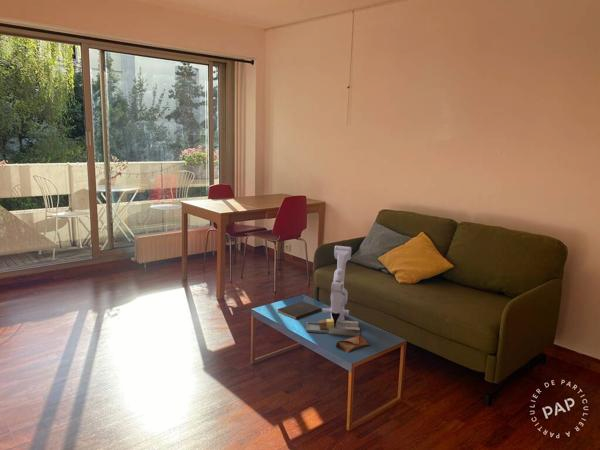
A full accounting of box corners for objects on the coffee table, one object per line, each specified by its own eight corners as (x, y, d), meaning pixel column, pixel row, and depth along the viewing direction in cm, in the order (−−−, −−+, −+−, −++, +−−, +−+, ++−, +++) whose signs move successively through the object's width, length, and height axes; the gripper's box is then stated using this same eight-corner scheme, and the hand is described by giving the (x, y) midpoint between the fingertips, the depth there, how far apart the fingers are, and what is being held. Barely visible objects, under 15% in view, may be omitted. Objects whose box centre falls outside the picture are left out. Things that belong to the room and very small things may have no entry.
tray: (306, 324, 271) (306, 321, 271) (327, 325, 271) (327, 323, 270) (306, 331, 260) (306, 329, 260) (327, 333, 260) (328, 331, 260)
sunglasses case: (347, 353, 237) (343, 340, 239) (338, 355, 242) (334, 342, 244) (371, 344, 249) (367, 332, 250) (362, 346, 254) (358, 334, 255)
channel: (328, 325, 271) (328, 319, 270) (357, 327, 271) (358, 321, 270) (328, 333, 259) (329, 327, 259) (359, 336, 259) (359, 329, 258)
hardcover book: (277, 312, 287) (277, 309, 287) (302, 304, 304) (302, 301, 304) (296, 320, 277) (296, 316, 276) (321, 311, 294) (321, 308, 293)
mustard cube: (326, 325, 267) (326, 319, 266) (333, 325, 266) (333, 318, 266) (327, 328, 263) (326, 321, 262) (334, 328, 263) (333, 321, 262)
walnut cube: (319, 327, 267) (318, 320, 266) (326, 325, 267) (325, 319, 266) (320, 329, 263) (318, 323, 262) (327, 328, 263) (325, 321, 262)
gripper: (323, 303, 258) (321, 327, 261) (349, 305, 258) (347, 329, 260) (323, 299, 265) (321, 322, 268) (348, 301, 265) (347, 324, 267)
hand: (334, 325), depth 264 cm, fingers closed, pressing on mustard cube
